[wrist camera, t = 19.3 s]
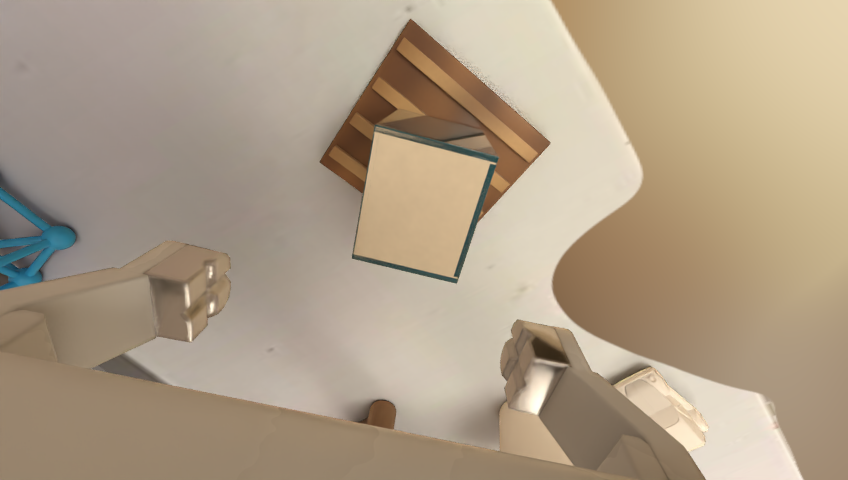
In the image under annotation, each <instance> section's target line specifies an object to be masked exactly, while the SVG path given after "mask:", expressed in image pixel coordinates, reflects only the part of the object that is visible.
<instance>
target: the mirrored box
mask: <svg viewBox="0 0 848 480" xmlns="http://www.w3.org/2000/svg"><path fill="white" fill-rule="evenodd" d="M498 159H499V156H498V154H497V153H496V151H495V150H494V148H493V147H492V145H491V144H490V142H489V141H488V139H487V138H486V136H485V134H484V133H483V131H482V130H480V129H476V128H472V127H468V126H465V125H461V124H457V123H453V122H449V121H446V120H442V119H438V118H434V117H430V116H427V115H423V114H419V113H415V112H411V111H407V110H404V109H400V108H399V109H398V110H396V111H395V112H393V113H392V114H390V115H389V116H387V117H386V118H384V119H383V120H381V121H380V122H378V123H377V124H375V126H374V132H373V138H372V144H371V149H370V155H369V161H368V167H367V173H366V178H365V184H364V190H363V196H362V202H361V207H360V213H359V219H358V225H357V231H356V236H355V242H354V248H353V254H352V259H356V260H360V261H365V262H369V263H373V264H377V265H381V266H386V267H390V268H394V269H398V270H402V271H406V272H411V273H415V274H419V275H423V276H427V277H431V278H436V279H440V280H444V281H448V282H452V283H457V282H458V278H459V276H460V273H461V270H462V267H463V264H464V261H465V258H466V255H467V252H468V249H469V246H470V243H471V240H472V237H473V234H474V231H475V228H476V225H477V222H478V219H479V216H480V213H481V210H482V207H483V204H484V201H485V198H486V195H487V192H488V189H489V186H490V183H491V180H492V177H493V174H494V171H495V168H496V165H497V162H498Z"/></svg>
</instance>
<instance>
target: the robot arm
mask: <svg viewBox="0 0 848 480" xmlns="http://www.w3.org/2000/svg"><path fill="white" fill-rule="evenodd" d="M230 268H231V263H230V257H229V256H228V254H226V253H222V252H218V251H214V250H210V249H206V248H202V247H198V246H194V245H189V244H185V243H181V242H176V241H165V242H163V243H162V244H160V245H158V246H157V247H155V248H153V249H152V250H150V251H148V252H147V253H145V254H143V255H142V256H140V257H138V258H137V259H135V260H133V261H132V262H130V263H128V264H126V265H125V266H123V267H121V268H120V269H118V268H113V267H112V268H107V269H102V270H98V271H93V272H88V273H83V274H78V275H73V276H68V277H63V278H58V279H54V280H49V281H44V282H39V283H34V284H29V285H24V286H19V287H14V288H10V289H5V290H0V480H706V479H705V477H704V476H703V474H702V473H701V471H700V470H699V468H698V467H697V465H696V464H695V462H694V461H693V459H692V457H691V456H690V454H689V453H688V451H687V450H686V448H685V447H684V446H683V445H682V444H681V443H680V442H679V441H677V440H676V439H675V438H674V437H673V436H672V435H670V434H669V433H668V432H667V431H666V430H664V429H663V428H662V427H661V426H660V425H658V424H657V423H656V422H655V421H654V420H653V419H651V418H650V417H649V416H648V415H647V414H645V413H644V412H643V411H642V410H641V409H640V408H638V407H637V406H636V405H635V404H634V403H632V402H631V401H630V400H629V399H628V398H626V397H625V396H624V395H623V394H622V393H621V392H619V391H618V390H617V389H616V388H615V387H613V386H612V385H611V384H610V383H609V382H607V381H606V380H605V379H604V378H603V377H602V376H600V375H599V374H598V373H595V372H592V371H591V369H590V367H589V365H588V363H587V361H586V359H585V357H584V355H583V353H582V351H581V349H580V347H579V345H578V343H577V341H576V339H575V337H574V335H573V333H572V332H571V331H570V330H568V329H564V328H559V327H553V326H547V325H542V324H537V323H532V322H527V321H523V320H518V319H517V320H516V322H515V323H514V324H513V327H512V329H511V333H512V337H513V338H511V339H510V340H508V341H507V342H505V345H504V347H503V350H502V354H501V360H500V368H501V373H502V376H503V377H504V378H505V379H506V380H507V384H506V386H505V388H504V389H505V393H506V398H507V403H508V408H509V409H512V410H516V411H520V412H524V413H529V414H533V415H537V416H539V418H540V420H541V421H542V423H543V424H544V425H545V427H546V428H547V429H548V431H549V432H550V433H551V435H552V436H553V438H554V439H555V440H556V442H557V443H558V444H559V446H560V447H561V449H562V450H563V451H564V453H565V454H566V455H567V457H568V458H569V460H570V461H571V462H572V464H573V465H574V466H571V465H566V464H561V463H556V462H551V461H546V460H541V459H536V458H531V457H526V456H521V455H516V454H510V453H505V452H500V451H495V450H490V449H486V448H481V447H476V446H471V445H466V444H461V443H456V442H451V441H446V440H441V439H436V438H431V437H426V436H422V435H417V434H412V433H407V432H402V431H397V430H392V429H387V428H382V427H377V426H372V425H367V424H362V423H357V422H352V421H347V420H342V419H337V418H332V417H327V416H322V415H317V414H312V413H307V412H302V411H297V410H292V409H287V408H282V407H277V406H272V405H267V404H262V403H257V402H252V401H247V400H242V399H237V398H232V397H227V396H222V395H217V394H212V393H207V392H202V391H197V390H192V389H187V388H182V387H177V386H172V385H167V384H162V383H157V382H152V381H147V380H142V379H137V378H132V377H127V376H122V375H117V374H112V373H107V372H102V371H97V370H92V369H91V368H93V367H95V366H97V365H99V364H102V363H104V362H106V361H108V360H110V359H112V358H114V357H116V356H119V355H121V354H123V353H125V352H127V351H129V350H131V349H133V348H136V347H138V346H140V345H142V344H144V343H146V342H148V341H151V340H153V339H155V338H156V336H158V337H163V338H169V339H174V340H180V341H185V342H192V341H193V340H194V339H195V338H196V337H197V336H198V335H199V334H200V333H201V332H202V331H203V330H204V329H205V328H206V326H207V325H208V318H209V317H212V316H215V315H217V314H219V312H220V311H221V310H222V309H223V308H224V307H225V305H226V303H227V301H228V299H229V295H230V291H231V281H230V280H229V278H228V277H227V275H226V274H225V273H226V272H227V271H228V270H229V269H230Z"/></svg>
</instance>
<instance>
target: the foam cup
mask: <svg viewBox="0 0 848 480" xmlns="http://www.w3.org/2000/svg"><path fill="white" fill-rule="evenodd" d="M499 438H500V452H505V453H510V454H516V455H521V456H526V457H531V458H536V459H541V460H546V461H551V462H556V463H561V464H566V465H571V466H574V465H573V464H572V462H571V461H570V460H569V458H568V457H567V455H566V454H565V453H564V451H563V450H562V449H561V447H560V446H559V444H558V443H557V442H556V440H555V439H554V438H553V436H552V435H551V433H550V432H549V431H548V429H547V428H546V427H545V425H544V424H543V423H542V421H541V420H540V418H539V416H537V415H533V414H529V413H524V412H520V411H516V410H512V409H509V408H508V403H507V401H506V402H505V403H504V404H503V405H502V407H501V409H500V410H499Z"/></svg>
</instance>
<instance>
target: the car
mask: <svg viewBox="0 0 848 480" xmlns="http://www.w3.org/2000/svg"><path fill="white" fill-rule="evenodd" d="M613 387H615V388H616V389H617V390H618V391H619V392H621V393H622V394H623V395H624V396H625V397H626V398H628V399H629V400H630V401H631V402H632V403H634V404H635V405H636V406H637V407H638V408H640V409H641V410H642V411H643V412H644V413H645V414H647V415H648V416H649V417H650V418H651V419H653V420H654V421H655V422H656V423H657V424H658V425H660V426H661V427H662V428H663V429H664V430H666V431H667V432H668V433H669V434H670V435H672V436H673V437H674V438H675V439H676V440H677V441H679V442H680V443H681V444H682V445H683V446H684V447H685V448H686V450H687V451H688V452H690V451H692V450H694V449H696V448H699V447H701V446H703V445H705V442H706V440H705V436H704V434H703V432H707V431H708V428H709V426H708V424H707V423H706V421H705V420H704V418H703V417H702V415H701V413H699V412H698V411H697V409H696V408H695V407H693V406H692V405H691V404H689V403H688V402H687V401H686V400H685V399H684V398H682V397H681V396H680V395H679V394H678V393H676V392H675V391H674V390H673V389H672V388H671V387H669V386H668V385H667V383H666V381H665V380H664V379H663V376H662V375H661V374H660V373H659V372H658V371H657V370H656V369H655V368H651V367H648V368H646V369H644V370H641V371H639V372H637V373H635V374H633V375H631V376H629V377H627V378H625V379H623V380H622V381H620V382H618V383H616V384H615V385H613Z"/></svg>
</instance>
